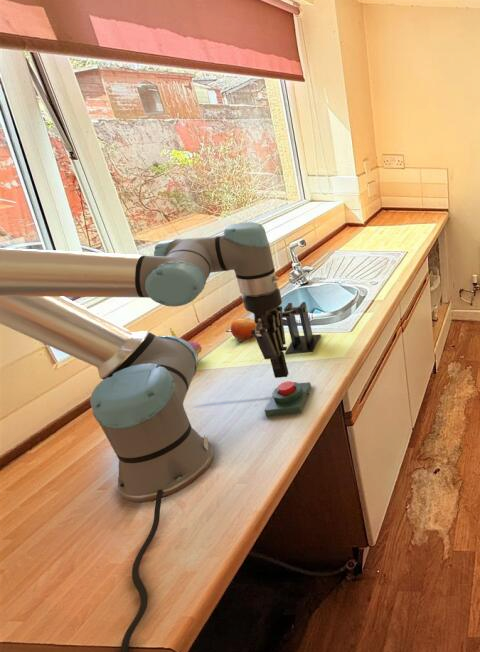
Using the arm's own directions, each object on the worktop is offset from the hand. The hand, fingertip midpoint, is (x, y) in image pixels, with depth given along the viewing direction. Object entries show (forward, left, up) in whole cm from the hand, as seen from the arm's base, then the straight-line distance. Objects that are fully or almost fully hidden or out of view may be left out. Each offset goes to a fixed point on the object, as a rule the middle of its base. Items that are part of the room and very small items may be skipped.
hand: (281, 375), depth 101 cm
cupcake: (+23, +35, -9) cm, 43 cm away
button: (0, 0, -5) cm, 5 cm away
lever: (+22, +4, +5) cm, 23 cm away
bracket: (+28, +4, -9) cm, 30 cm away
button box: (0, 0, -9) cm, 9 cm away
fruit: (+37, +24, -9) cm, 45 cm away
